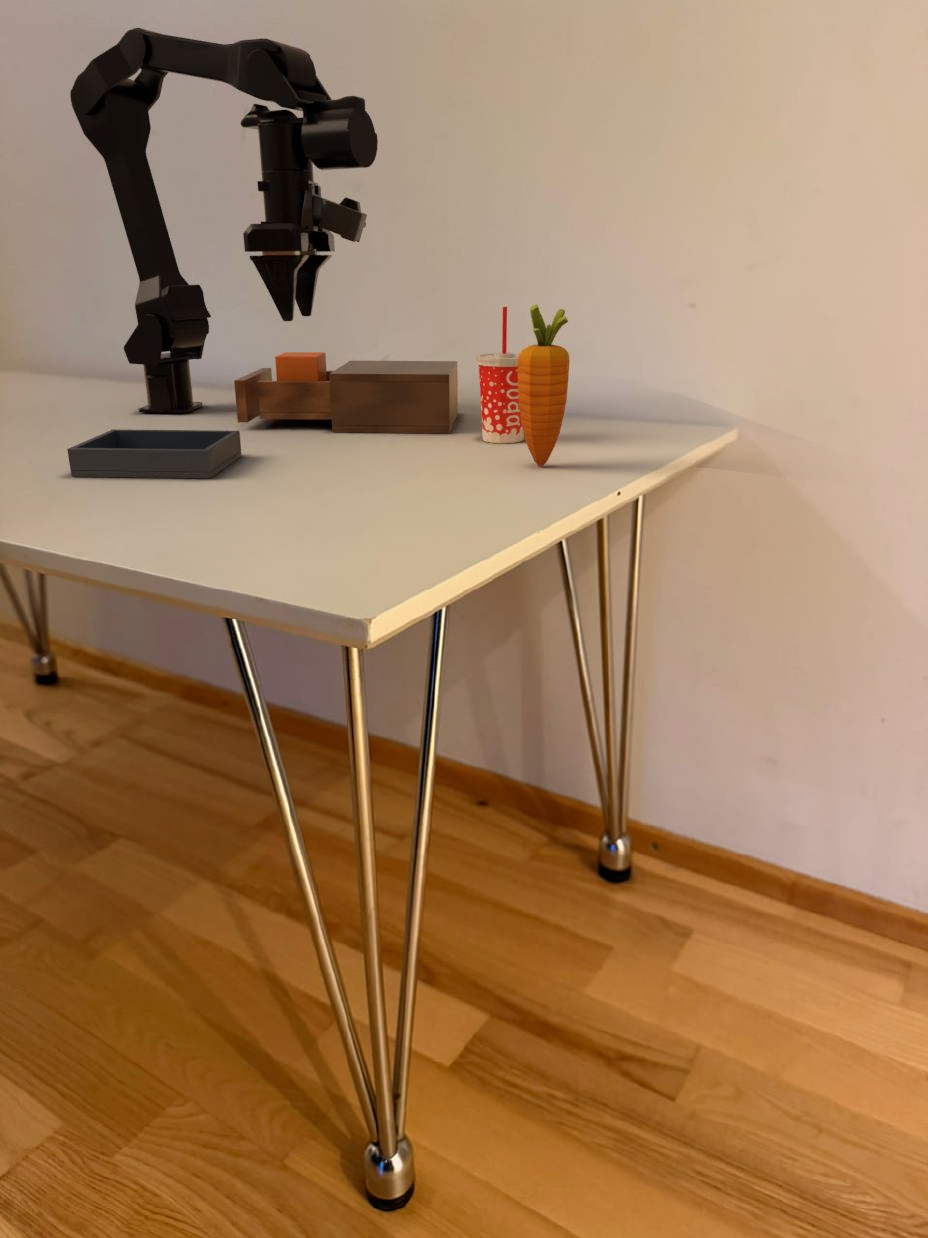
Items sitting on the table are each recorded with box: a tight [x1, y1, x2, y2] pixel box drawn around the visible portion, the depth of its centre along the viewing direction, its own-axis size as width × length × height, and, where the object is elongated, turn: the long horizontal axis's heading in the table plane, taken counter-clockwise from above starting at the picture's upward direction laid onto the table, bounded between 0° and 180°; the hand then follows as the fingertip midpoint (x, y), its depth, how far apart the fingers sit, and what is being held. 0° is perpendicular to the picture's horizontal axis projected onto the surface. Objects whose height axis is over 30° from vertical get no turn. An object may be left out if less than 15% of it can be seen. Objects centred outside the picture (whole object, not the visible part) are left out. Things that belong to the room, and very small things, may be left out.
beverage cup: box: [475, 306, 525, 444], centre depth 103 cm, size 6×6×14 cm
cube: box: [274, 351, 327, 381], centre depth 114 cm, size 5×5×6 cm
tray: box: [66, 428, 243, 479], centre depth 92 cm, size 10×13×3 cm
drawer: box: [233, 367, 334, 423], centre depth 115 cm, size 14×12×5 cm
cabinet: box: [329, 360, 459, 434], centre depth 114 cm, size 14×14×7 cm
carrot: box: [518, 304, 570, 468], centre depth 89 cm, size 5×5×15 cm
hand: (297, 318), depth 112 cm, fingers open, 9 cm apart
